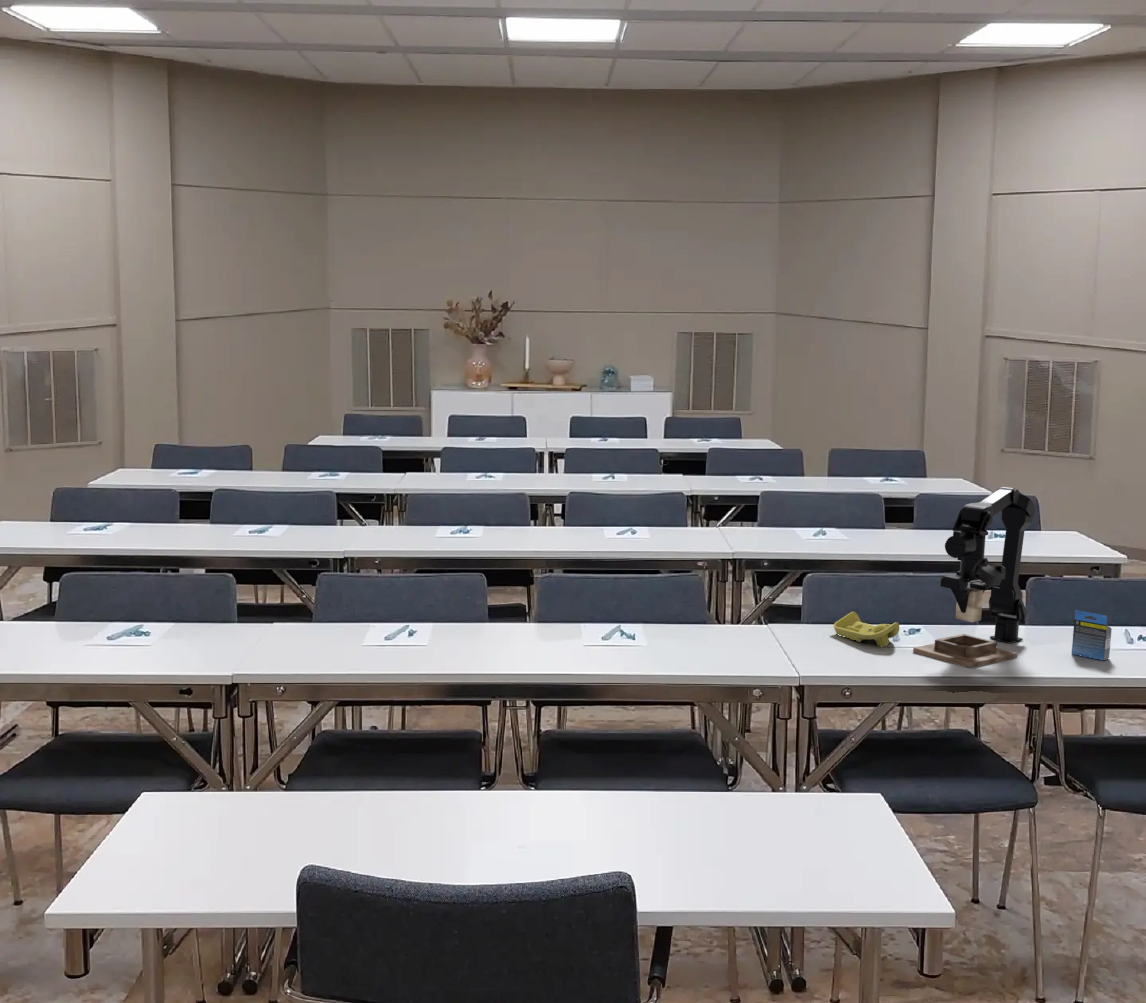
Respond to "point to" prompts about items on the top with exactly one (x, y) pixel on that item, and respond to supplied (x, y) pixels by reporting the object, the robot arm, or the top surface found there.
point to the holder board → (965, 651)
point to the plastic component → (865, 629)
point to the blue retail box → (1091, 636)
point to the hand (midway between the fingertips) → (968, 611)
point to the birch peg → (971, 607)
